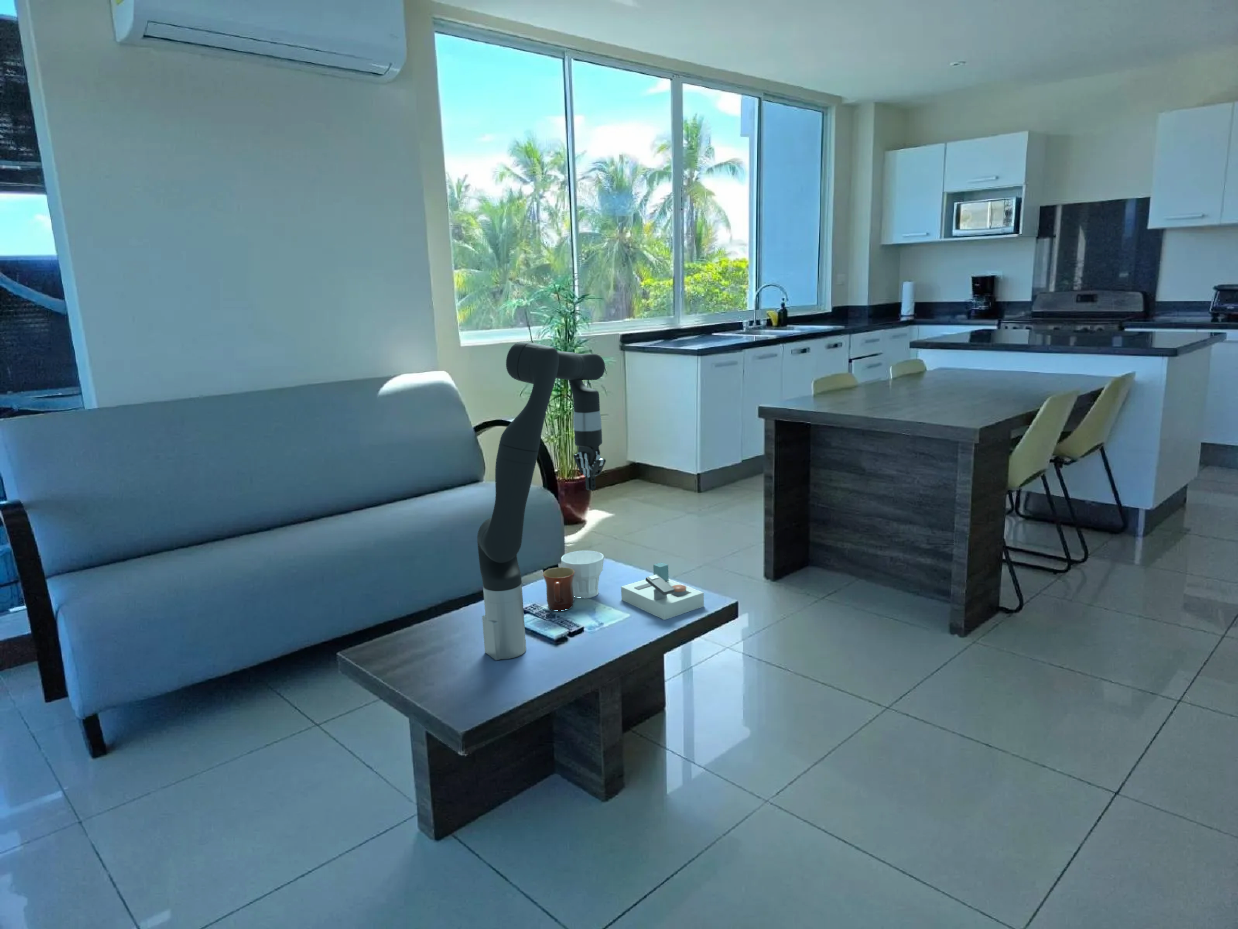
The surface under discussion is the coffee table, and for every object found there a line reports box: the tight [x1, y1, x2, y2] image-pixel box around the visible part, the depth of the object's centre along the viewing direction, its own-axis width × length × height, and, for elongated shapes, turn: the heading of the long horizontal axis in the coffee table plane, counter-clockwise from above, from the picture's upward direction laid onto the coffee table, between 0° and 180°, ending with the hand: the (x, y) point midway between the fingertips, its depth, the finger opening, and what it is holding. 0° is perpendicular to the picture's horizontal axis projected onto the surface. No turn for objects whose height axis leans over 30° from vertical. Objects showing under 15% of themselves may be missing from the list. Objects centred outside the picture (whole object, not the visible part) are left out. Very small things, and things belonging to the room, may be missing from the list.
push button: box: [672, 584, 687, 597], centre depth 216 cm, size 4×4×5 cm
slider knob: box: [652, 562, 670, 581], centre depth 224 cm, size 3×3×4 cm
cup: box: [560, 550, 605, 599], centre depth 228 cm, size 12×12×11 cm
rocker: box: [645, 574, 675, 595], centre depth 211 cm, size 4×8×1 cm, turn 36°
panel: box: [620, 578, 705, 621], centre depth 219 cm, size 14×19×7 cm
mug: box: [542, 566, 575, 612], centre depth 217 cm, size 12×9×10 cm
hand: (590, 489), depth 218 cm, fingers closed
